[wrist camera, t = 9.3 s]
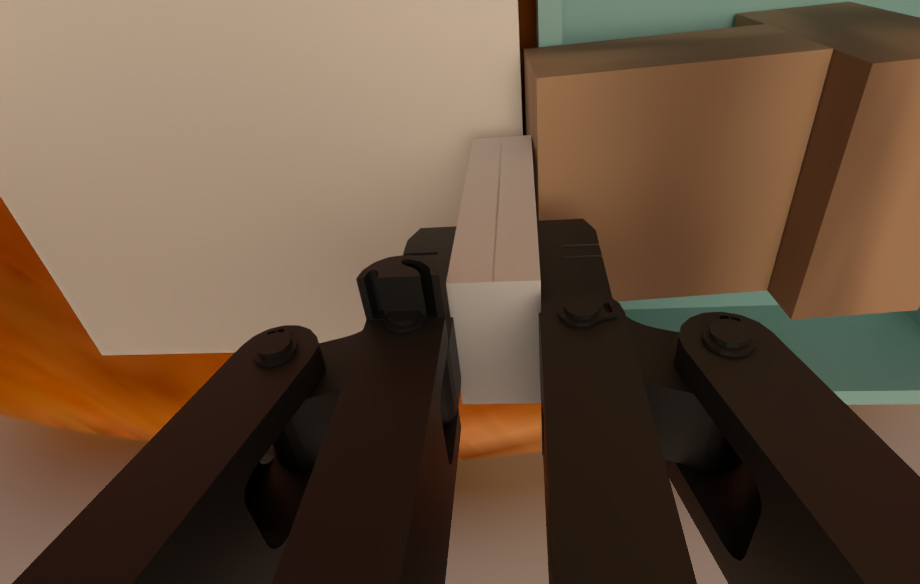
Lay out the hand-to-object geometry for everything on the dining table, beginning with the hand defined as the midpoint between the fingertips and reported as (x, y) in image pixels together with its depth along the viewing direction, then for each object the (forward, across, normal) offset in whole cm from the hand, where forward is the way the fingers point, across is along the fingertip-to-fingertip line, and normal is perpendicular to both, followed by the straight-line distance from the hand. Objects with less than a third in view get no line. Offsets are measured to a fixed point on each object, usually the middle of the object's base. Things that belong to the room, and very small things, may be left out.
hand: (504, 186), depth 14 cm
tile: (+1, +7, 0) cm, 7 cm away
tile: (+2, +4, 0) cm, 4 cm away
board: (+5, -8, 0) cm, 9 cm away
